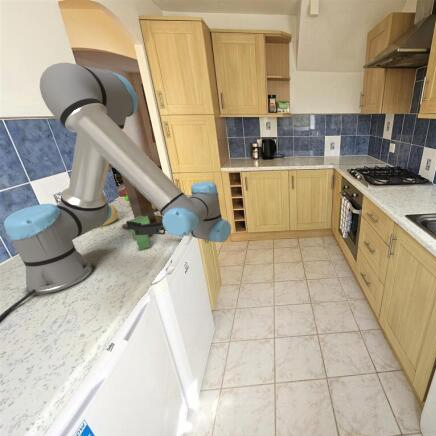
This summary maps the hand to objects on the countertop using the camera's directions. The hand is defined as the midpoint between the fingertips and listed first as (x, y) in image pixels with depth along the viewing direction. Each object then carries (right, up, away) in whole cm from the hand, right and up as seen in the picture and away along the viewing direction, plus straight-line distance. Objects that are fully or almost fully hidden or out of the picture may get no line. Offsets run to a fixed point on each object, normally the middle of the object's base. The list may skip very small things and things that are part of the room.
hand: (145, 217), depth 91 cm
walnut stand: (-14, -3, +24) cm, 28 cm away
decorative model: (-34, +8, +52) cm, 63 cm away
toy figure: (-7, -7, +11) cm, 15 cm away
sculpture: (-36, -3, +27) cm, 45 cm away
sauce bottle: (-19, +4, +42) cm, 46 cm away
